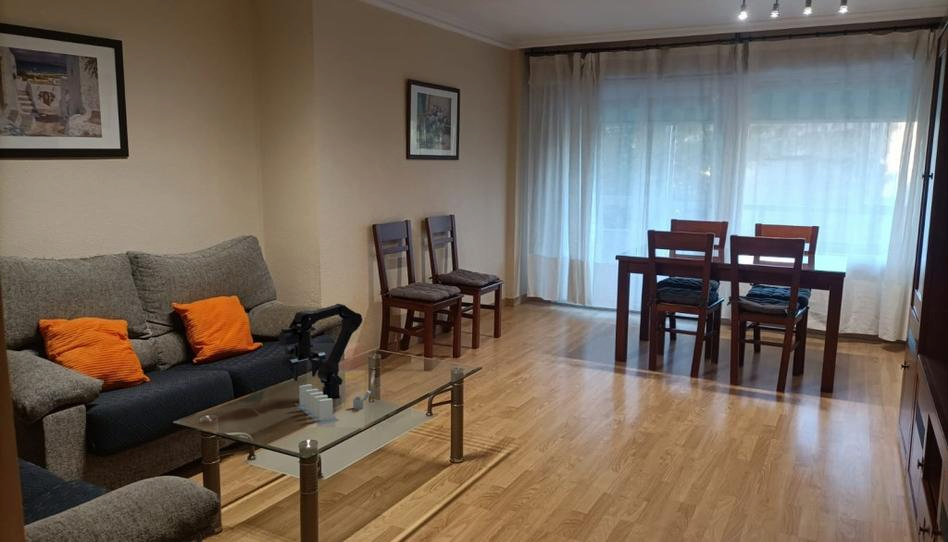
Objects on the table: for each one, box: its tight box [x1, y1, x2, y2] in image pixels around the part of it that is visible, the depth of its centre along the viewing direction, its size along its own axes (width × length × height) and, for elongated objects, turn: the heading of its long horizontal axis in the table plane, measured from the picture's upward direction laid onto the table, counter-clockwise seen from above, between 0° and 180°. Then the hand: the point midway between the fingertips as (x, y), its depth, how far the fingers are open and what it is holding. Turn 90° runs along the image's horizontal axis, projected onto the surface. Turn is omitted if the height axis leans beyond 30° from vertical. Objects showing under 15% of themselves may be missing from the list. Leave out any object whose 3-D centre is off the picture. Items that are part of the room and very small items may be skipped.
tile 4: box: [319, 398, 334, 421], centre depth 275 cm, size 2×5×8 cm, turn 122°
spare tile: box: [298, 383, 313, 405], centre depth 294 cm, size 2×5×8 cm, turn 123°
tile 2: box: [310, 391, 323, 414], centre depth 283 cm, size 2×5×8 cm, turn 123°
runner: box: [294, 402, 340, 425], centre depth 284 cm, size 30×8×1 cm, turn 33°
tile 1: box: [305, 388, 320, 410], centre depth 288 cm, size 2×5×8 cm, turn 122°
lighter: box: [352, 389, 372, 410], centre depth 289 cm, size 7×2×8 cm, turn 82°
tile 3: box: [314, 395, 328, 417], centre depth 279 cm, size 2×5×8 cm, turn 123°
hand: (304, 378), depth 294 cm, fingers open, 9 cm apart
